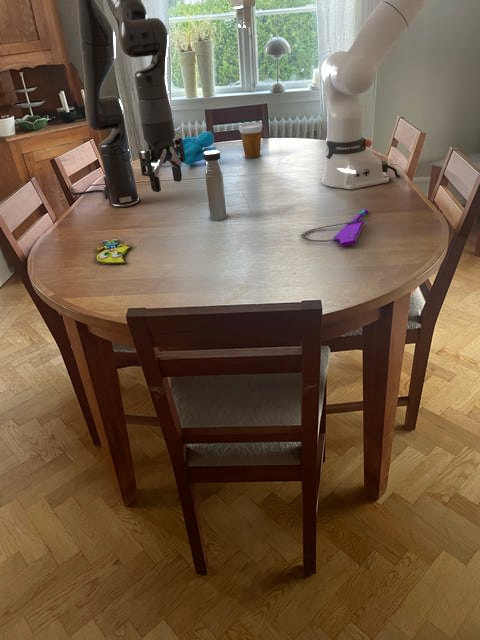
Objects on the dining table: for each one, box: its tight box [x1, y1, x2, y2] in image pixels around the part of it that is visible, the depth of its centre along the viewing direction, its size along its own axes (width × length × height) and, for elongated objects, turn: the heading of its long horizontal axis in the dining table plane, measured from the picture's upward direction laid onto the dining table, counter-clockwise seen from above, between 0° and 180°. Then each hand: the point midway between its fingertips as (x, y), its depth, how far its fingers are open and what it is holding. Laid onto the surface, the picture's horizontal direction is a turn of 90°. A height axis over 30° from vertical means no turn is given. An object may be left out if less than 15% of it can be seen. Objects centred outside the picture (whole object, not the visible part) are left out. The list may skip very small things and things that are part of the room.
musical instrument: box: [301, 208, 369, 248], centre depth 130 cm, size 24×2×20 cm
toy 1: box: [95, 238, 133, 265], centre depth 129 cm, size 10×1×15 cm
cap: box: [204, 149, 221, 162], centre depth 135 cm, size 5×5×2 cm
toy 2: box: [154, 131, 217, 166], centre depth 197 cm, size 17×11×30 cm
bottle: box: [204, 160, 228, 221], centre depth 140 cm, size 5×5×19 cm
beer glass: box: [239, 123, 263, 159], centre depth 199 cm, size 10×10×12 cm
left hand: (167, 186), depth 122 cm, fingers open, 8 cm apart
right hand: (244, 27), depth 136 cm, fingers open, 8 cm apart
